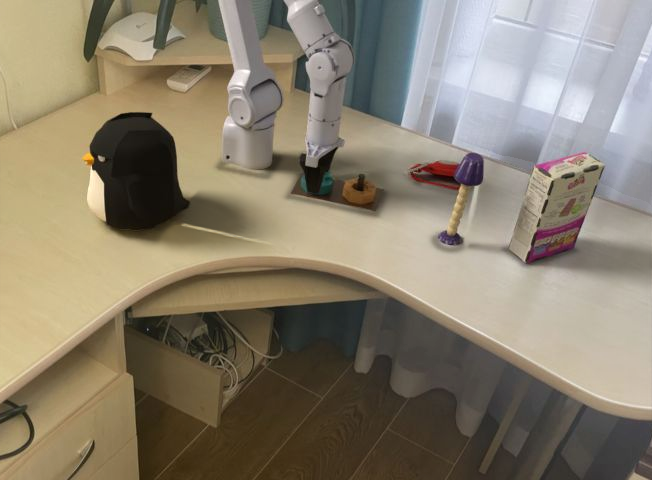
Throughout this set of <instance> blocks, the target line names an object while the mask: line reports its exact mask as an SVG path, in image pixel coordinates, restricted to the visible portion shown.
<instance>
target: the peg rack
mask: <svg viewBox="0 0 652 480" xmlns="http://www.w3.org/2000/svg"><path fill="white" fill-rule="evenodd" d="M303 175H304V172H301V173H300V175H299V177H298V178H297V181H296V182H295V184H294V186H293V188H292V189H291V192H290V194H291V195H295V196H296V195H297V196H301V197H305V198H310V199H315V200H320V201H325V202H329V203H335V204H339V205H344V206H350V207H354V208H359V209H364V210H368V211H371V212H376V211H377V209H378V207H379V204H380V201H381V198H382V196H383V195H384V191H385V189H384V188H380V187H377V188H376V194H375V197H374V200H373V202H369V203H366V204H357V203H353V202H349V201H348V200H347V199H346V198H345V197H344V196H343V187H344V185H345V183H346V181H347V180H340V179H335V178H334V184H333V188H332V190H331V192H330V193H327V194H323V195H315V194H310V193H307V192H306V191H305V190H304V189H303V188H302V187H301V178H302V176H303ZM357 178H358V182H357V189H356V191H361V192H362V191H363V187H364V181H365V180H366V175H365V174H364V173H359V174H358V177H357Z"/></svg>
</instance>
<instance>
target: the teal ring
mask: <svg viewBox="0 0 652 480" xmlns="http://www.w3.org/2000/svg"><path fill="white" fill-rule="evenodd" d="M334 179H335V177H334V176H333V175H332V174H330V172H325V175H324V178H323V181H322V185H321V188H320V190H319V192H318V194H317V193H312V192H308V191H307V187H306V181H305V175H303V176H302V178H301V187H302V188H303V189H304V190H305V191H306V192H307V193H310V194H315V195H323V194H327V193H330V192H331V190H332V188H333V184H334Z"/></svg>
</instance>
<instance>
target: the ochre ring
mask: <svg viewBox="0 0 652 480" xmlns="http://www.w3.org/2000/svg"><path fill="white" fill-rule="evenodd" d="M345 181H346V183H345V185H344V187H343V196H344V197H345V198H346V199H347V200H348V201H349V202H353V203H357V204H366V203H369V202H373V200H374V197H375V194H376V188H378V187H377V186H376V185H375V184H374V183H373V182H372V181H371V180H367V179H365V181H364V187H363V191H362V192H361V191H356V189H357V182H358V177H357V178H353V179H348V180H345Z"/></svg>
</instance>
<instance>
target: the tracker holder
mask: <svg viewBox="0 0 652 480" xmlns="http://www.w3.org/2000/svg"><path fill="white" fill-rule="evenodd" d="M459 164H460V163H458V162H455V161H450V160H437V161H434V162H431V163H429V162H424V163H415V164H414V165H411V166H410V167H408V168H407V170H408V171H407V173H408V174H410V176H411V179H413V180H414V181H416V182H418V183H425V184H429V185H434V186H439V187H443V188H447V189H451V190H455V191H456V190H459V189H460V187H461V184H459V185H457V186H454V185H449V184H444V183H440V182H433V181H429V180H426V179H423V178H421V177H419V176H417V175H415V173H417V174H421V173H422V172H423V171H424V173H427V174H433V175H440V176H448V177H454V173H455V171H456V169H457V168H458V166H459Z"/></svg>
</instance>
